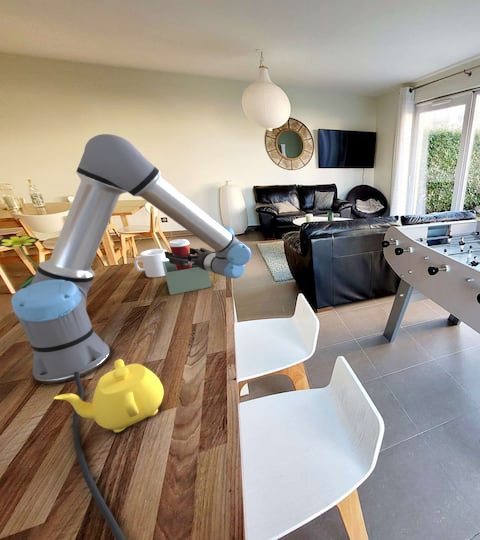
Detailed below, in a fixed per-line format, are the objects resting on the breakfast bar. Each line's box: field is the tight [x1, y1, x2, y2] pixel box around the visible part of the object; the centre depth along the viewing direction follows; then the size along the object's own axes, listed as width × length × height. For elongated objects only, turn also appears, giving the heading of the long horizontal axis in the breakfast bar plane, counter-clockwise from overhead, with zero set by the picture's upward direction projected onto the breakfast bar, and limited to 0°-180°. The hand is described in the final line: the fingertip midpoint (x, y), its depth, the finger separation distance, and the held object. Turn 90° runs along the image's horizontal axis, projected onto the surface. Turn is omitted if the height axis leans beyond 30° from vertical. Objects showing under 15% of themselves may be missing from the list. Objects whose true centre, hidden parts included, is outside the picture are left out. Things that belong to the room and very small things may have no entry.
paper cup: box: [168, 238, 192, 271], centre depth 124 cm, size 8×8×14 cm
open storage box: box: [162, 261, 212, 296], centre depth 126 cm, size 16×16×10 cm
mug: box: [133, 248, 169, 278], centre depth 135 cm, size 14×10×11 cm
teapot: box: [53, 358, 165, 433], centre depth 64 cm, size 14×14×12 cm
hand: (175, 252), depth 125 cm, fingers closed on paper cup, 8 cm apart
